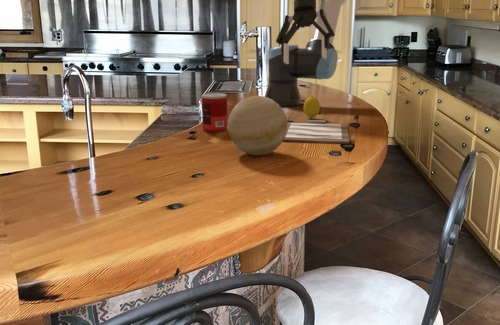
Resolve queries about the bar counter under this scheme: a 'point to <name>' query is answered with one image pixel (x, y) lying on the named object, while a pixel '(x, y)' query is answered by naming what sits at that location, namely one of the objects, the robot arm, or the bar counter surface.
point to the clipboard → (317, 132)
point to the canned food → (214, 112)
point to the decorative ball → (257, 125)
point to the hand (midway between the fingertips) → (304, 60)
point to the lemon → (311, 107)
